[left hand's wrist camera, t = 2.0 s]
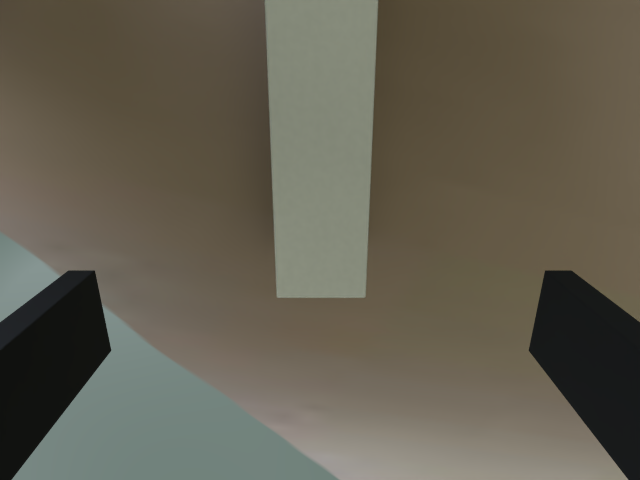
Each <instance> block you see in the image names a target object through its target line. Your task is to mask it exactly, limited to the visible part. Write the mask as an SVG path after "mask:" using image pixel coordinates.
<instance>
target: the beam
mask: <svg viewBox="0 0 640 480" xmlns="http://www.w3.org/2000/svg"><path fill="white" fill-rule="evenodd" d="M377 19H378V0H265V22H266V47H267V72H268V96H269V121H270V146H271V171H272V195H273V220H274V245H275V269H276V294H277V298H365V297H366V278H367V254H368V231H369V207H370V184H371V160H372V136H373V113H374V89H375V66H376V42H377Z"/></svg>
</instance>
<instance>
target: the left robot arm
mask: <svg viewBox="0 0 640 480" xmlns="http://www.w3.org/2000/svg"><path fill="white" fill-rule="evenodd" d="M110 351H111V347H110V342H109V337H108V333H107V328H106V323H105V318H104V313H103V308H102V303H101V298H100V293H99V289H98V284H97V279H96V274H95V271H67V272H66V273H65V274H63V275H62V276H61V277H60V278H58V279H57V280H56V281H54V282H53V283H52V284H50V285H49V286H48V287H46V288H45V289H44V290H42V291H41V292H40V293H38V294H37V295H36V296H34V297H33V298H32V299H30V300H29V301H28V302H27V303H25V304H24V305H23V306H21V307H20V308H19V309H17V310H16V311H15V312H13V313H12V314H11V315H9V316H8V317H7V318H5V319H4V320H3V321H1V322H0V480H12V478H13V477H14V476H15V474H16V473H17V472H18V471H19V469H20V468H21V467H22V465H23V464H24V463H25V461H26V460H27V459H28V458H29V456H30V455H31V454H32V452H33V451H34V450H35V448H36V447H37V446H38V445H39V443H40V442H41V441H42V439H43V438H44V437H45V436H46V434H47V433H48V432H49V430H50V429H51V428H52V427H53V425H54V424H55V423H56V421H57V420H58V419H59V417H60V416H61V415H62V414H63V412H64V411H65V410H66V408H67V407H68V406H69V405H70V403H71V402H72V401H73V399H74V398H75V397H76V395H77V394H78V393H79V392H80V390H81V389H82V388H83V386H84V385H85V384H86V382H87V381H88V380H89V379H90V377H91V376H92V375H93V373H94V372H95V371H96V370H97V368H98V367H99V366H100V364H101V363H102V362H103V360H104V359H105V358H106V357H107V355H108V354H109V353H110ZM529 351H530V353H531V354H532V355H533V357H534V358H535V359H536V360H537V362H538V363H539V364H540V366H541V367H542V368H543V370H544V371H545V372H546V373H547V375H548V376H549V377H550V379H551V380H552V381H553V383H554V384H555V385H556V386H557V388H558V389H559V390H560V392H561V393H562V394H563V395H564V397H565V398H566V399H567V401H568V402H569V403H570V405H571V406H572V407H573V408H574V410H575V411H576V412H577V414H578V415H579V416H580V417H581V419H582V420H583V421H584V423H585V424H586V425H587V427H588V428H589V429H590V430H591V432H592V433H593V434H594V436H595V437H596V438H597V439H598V441H599V442H600V443H601V445H602V446H603V447H604V449H605V450H606V451H607V452H608V454H609V455H610V456H611V458H612V459H613V460H614V462H615V463H616V464H617V465H618V467H619V468H620V469H621V471H622V472H623V473H624V474H625V476H626V477H627V478H628V480H640V322H639V321H637V320H636V319H635V318H633V317H632V316H631V315H629V314H628V313H627V312H625V311H624V310H623V309H621V308H620V307H619V306H617V305H616V304H615V303H613V302H612V301H611V300H610V299H608V298H607V297H606V296H604V295H603V294H602V293H600V292H599V291H598V290H596V289H595V288H594V287H592V286H591V285H590V284H588V283H587V282H586V281H584V280H583V279H582V278H580V277H579V276H578V275H577V274H575V273H574V272H573V271H545V274H544V279H543V284H542V289H541V293H540V298H539V303H538V308H537V313H536V318H535V323H534V328H533V333H532V337H531V342H530V347H529Z"/></svg>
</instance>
